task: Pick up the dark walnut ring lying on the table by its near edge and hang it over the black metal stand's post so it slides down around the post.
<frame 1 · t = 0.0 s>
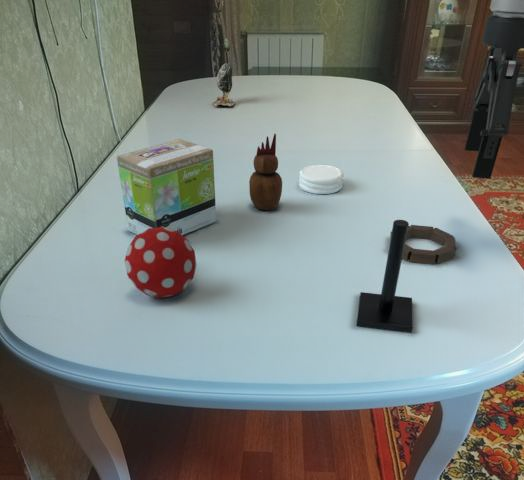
hand: (476, 163, 86), 15 cm above the table, tool pointing down, fingers open, 13 cm apart
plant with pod: (224, 104, 176), on the table
tea box: (174, 227, 101), on the table
stand: (384, 314, 77), on the table
wooden figurine: (265, 208, 108), on the table
coaster: (320, 187, 117), on the table
ring: (421, 248, 94), on the table
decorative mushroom: (166, 282, 85), on the table
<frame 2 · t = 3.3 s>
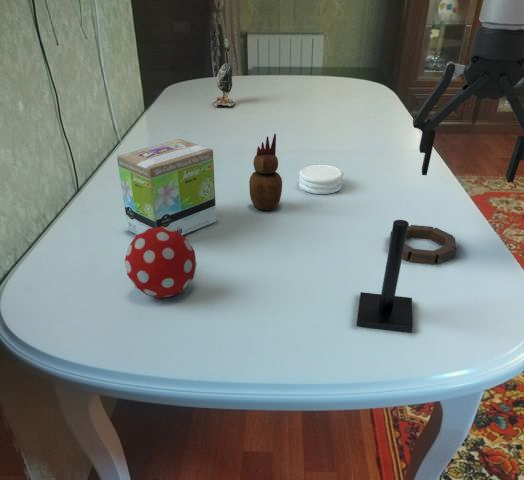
hand: (465, 176, 84), 14 cm above the table, tool pointing down, fingers open, 13 cm apart
nothing on the table moved.
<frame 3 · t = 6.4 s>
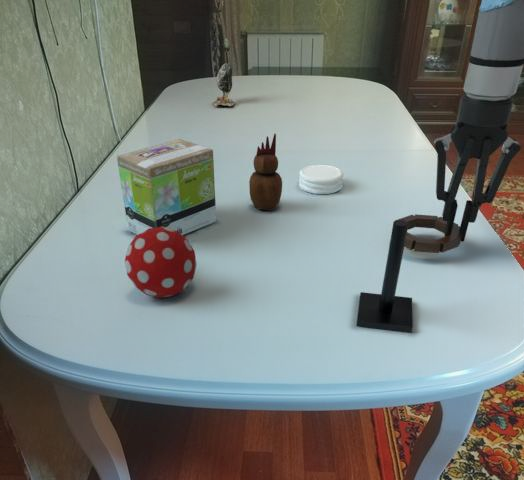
hand: (454, 237, 91), 3 cm above the table, tool pointing down, fingers closed on ring, 2 cm apart
ring: (425, 237, 92), point 2 cm above the table, touching gripper
everything else where it was.
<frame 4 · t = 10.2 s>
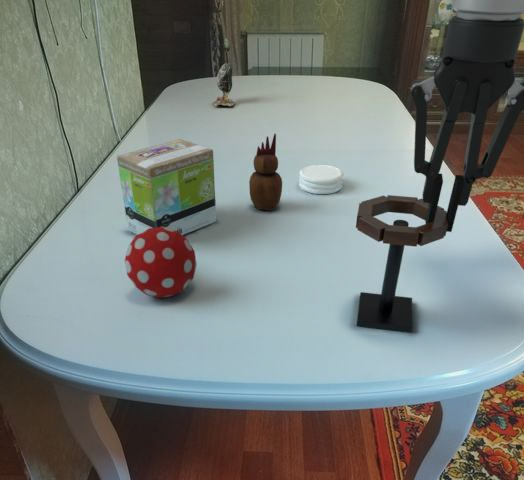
hand: (438, 226, 67), 15 cm above the table, tool pointing down, fingers closed on ring, 2 cm apart
ring: (400, 225, 68), point 14 cm above the table, touching gripper
everything else where it was.
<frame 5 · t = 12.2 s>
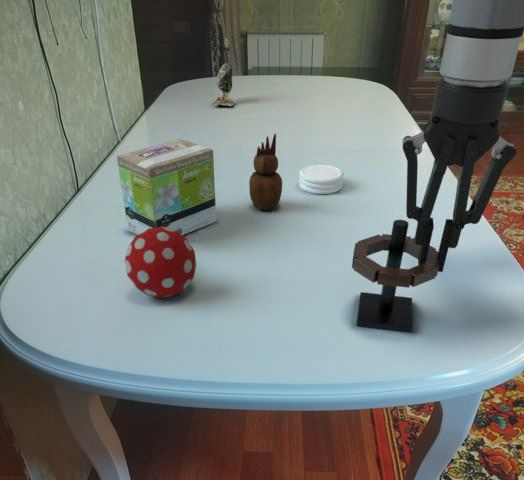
hand: (430, 265, 71), 9 cm above the table, tool pointing down, fingers closed on ring, 2 cm apart
ring: (393, 264, 72), point 9 cm above the table, touching gripper
everything else where it was.
when the fingers open (10 cm above the table, at t = 14.0 s): ring drops 9 cm, resting on stand.
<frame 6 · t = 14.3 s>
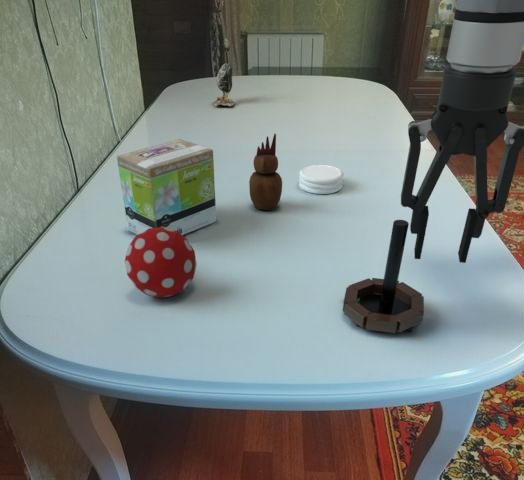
hand: (439, 255, 70), 11 cm above the table, tool pointing down, fingers open, 5 cm apart
ring: (382, 308, 77), point 1 cm above the table, touching stand
everything else where it was.
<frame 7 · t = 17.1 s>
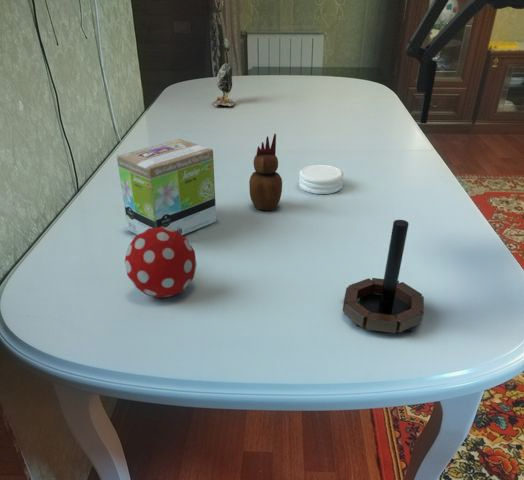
hand: (478, 122, 63), 27 cm above the table, tool pointing down, fingers open, 13 cm apart
nothing on the table moved.
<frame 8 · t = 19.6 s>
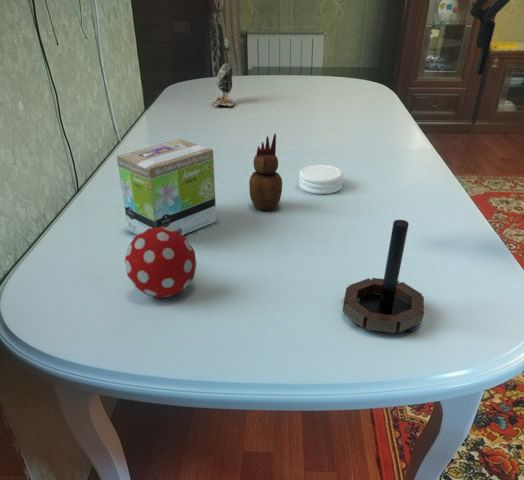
nothing on the table moved.
at the end: ring 0.5 cm from the stand (horizontally); ring point 1.0 cm above the table; the gripper is holding nothing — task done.
